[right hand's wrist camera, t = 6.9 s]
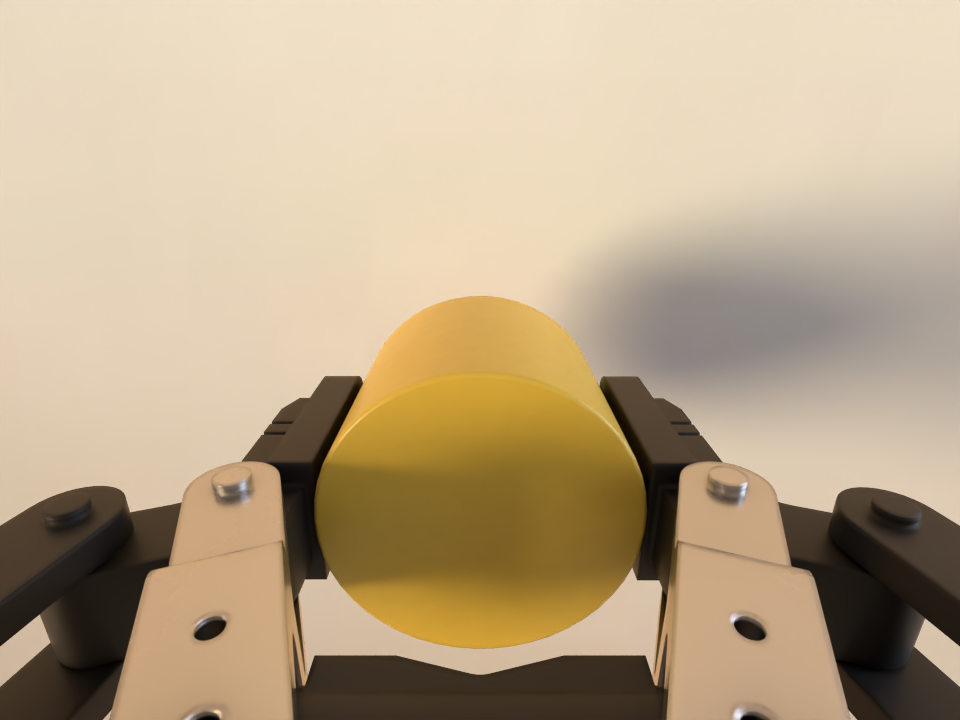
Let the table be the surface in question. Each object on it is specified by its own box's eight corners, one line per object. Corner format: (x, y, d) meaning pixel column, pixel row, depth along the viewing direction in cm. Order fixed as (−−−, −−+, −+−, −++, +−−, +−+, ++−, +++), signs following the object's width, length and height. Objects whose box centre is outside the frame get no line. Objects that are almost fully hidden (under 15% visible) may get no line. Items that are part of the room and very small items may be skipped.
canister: (619, 317, 12) (693, 405, 8) (564, 513, 13) (600, 668, 9) (379, 275, 11) (324, 344, 7) (357, 483, 13) (302, 629, 9)
